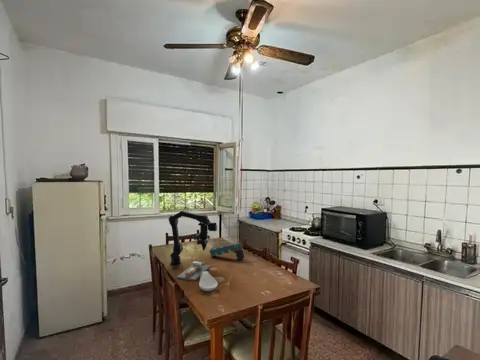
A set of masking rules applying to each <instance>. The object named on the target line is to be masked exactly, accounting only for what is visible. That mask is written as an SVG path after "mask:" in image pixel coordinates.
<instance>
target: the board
mask: <svg viewBox="0 0 480 360" xmlns="http://www.w3.org/2000/svg"><path fill="white" fill-rule="evenodd" d="M211 267H212V266H211V265H210V264H204V265H202V267H201V269H200V270H199V269H198V270H197V271H195V272H194V273H193V274H191V275H190V276H189V277H185V273H186V272H187V271H189V270H190V269H191V268H192V265H191V266H189V267H188V268H186V269H185V270H184V271H183V272H181V273H180V274H178V275H177V276H176V279H180V280H189V281H196V280H198V279H200V276H201V273H202V272H206V271H207V272H208V270H209V269H210V268H211Z"/></svg>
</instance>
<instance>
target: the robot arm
mask: <svg viewBox="0 0 480 360" xmlns="http://www.w3.org/2000/svg"><path fill="white" fill-rule="evenodd" d="M182 217H184V218H188V219H192V220H195V221H197V222H199V223H198V224H197V226H200V228H199V231H200V232H199V233H197V234H194V235H193V236H192V239H193V241H196V240H197V241H196V244H197V245H201V248H202V251H205V249H206V247H207V246H208V243H209V240H211V236H210V235H209V234H208V233H209V232H218V231H217V230H218V225H217V222H211V221H210V219H209V217H208V215H207V214H197V213H193V212H189V211H185V210H180V211H178V213H176V214H173V215H170V216H168V222H169V225H170V227H171V231H172V238H173V239H172V240H173V248H172V253H171V254H170V263H169V264H170V265H172V266H179V265H180V264H181V263H182V262H181V256H180V255H181V254H182V252H183V250H184V246H183V243H182V244H181V241H180V234H179V228H178V227H179V226H178V225H179V218H182ZM207 239H208V240H207Z"/></svg>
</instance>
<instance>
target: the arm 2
mask: <svg viewBox="0 0 480 360" xmlns="http://www.w3.org/2000/svg"><path fill="white" fill-rule="evenodd" d="M202 263H203V262H202ZM202 263H201V267H202ZM198 269H199V266H196V267H195V268H193V269H192V270H191V271H189V272H188V273H187V277H189V276H190V275H191V274H193V273H194V272H195V271H197V270H198Z"/></svg>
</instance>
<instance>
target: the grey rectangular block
mask: <svg viewBox="0 0 480 360" xmlns="http://www.w3.org/2000/svg"><path fill="white" fill-rule="evenodd" d="M201 262H202V261H192V264H191V266H192V267H194V266H195V265H197V266H199V270H200V269H201Z"/></svg>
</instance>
